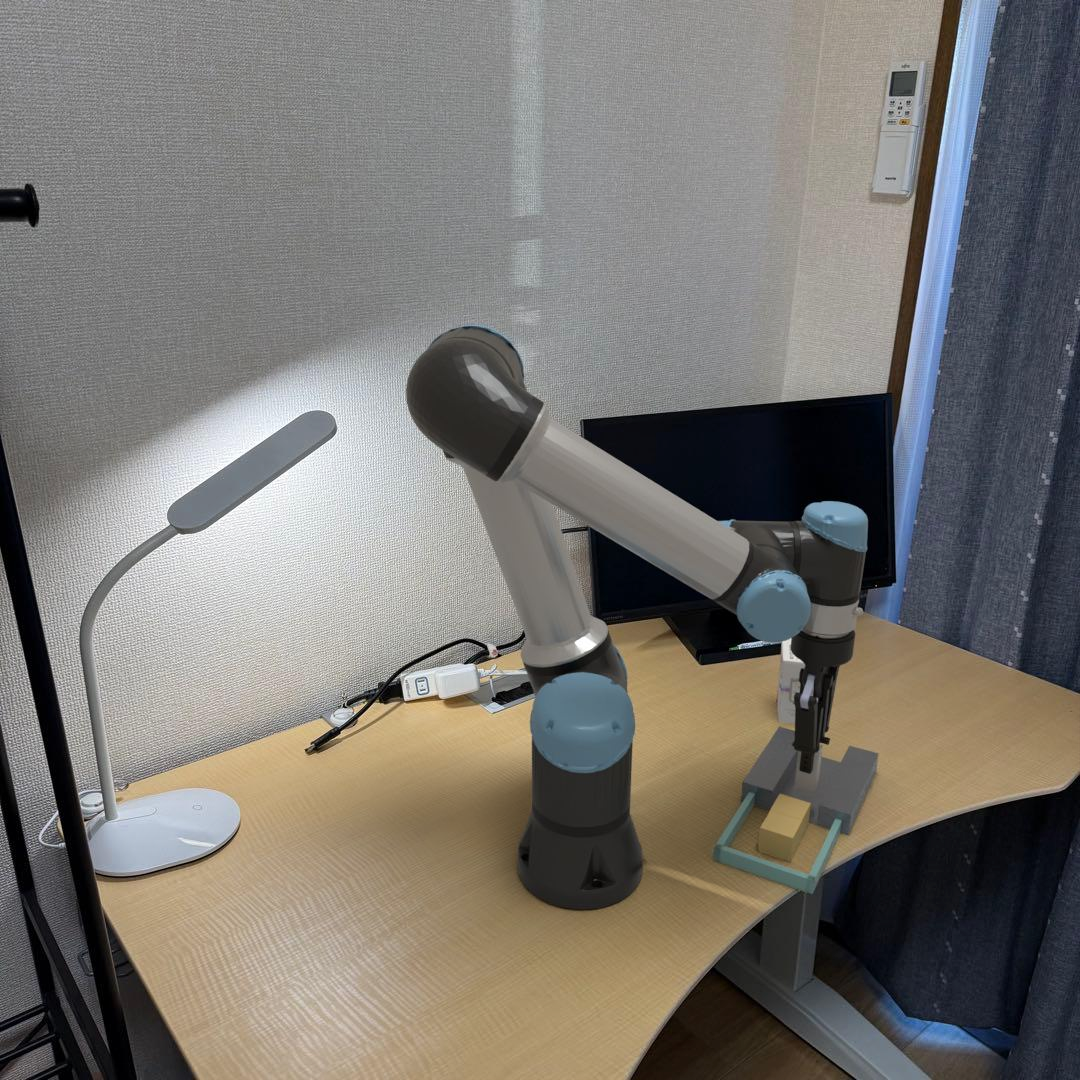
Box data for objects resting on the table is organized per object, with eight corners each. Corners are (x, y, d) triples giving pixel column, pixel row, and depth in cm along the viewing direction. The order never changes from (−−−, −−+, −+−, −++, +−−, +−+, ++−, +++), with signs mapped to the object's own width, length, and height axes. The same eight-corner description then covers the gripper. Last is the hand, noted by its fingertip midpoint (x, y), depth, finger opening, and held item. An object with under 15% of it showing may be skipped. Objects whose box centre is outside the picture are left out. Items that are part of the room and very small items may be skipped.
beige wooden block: (798, 846, 119) (801, 819, 118) (767, 836, 121) (770, 809, 120) (807, 829, 122) (810, 803, 121) (777, 819, 124) (779, 793, 123)
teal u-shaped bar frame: (811, 902, 111) (813, 881, 110) (712, 867, 116) (714, 847, 115) (839, 840, 121) (841, 820, 120) (747, 811, 127) (749, 791, 126)
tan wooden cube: (789, 865, 116) (792, 838, 114) (757, 854, 118) (760, 827, 116) (799, 847, 119) (802, 820, 118) (767, 836, 121) (770, 810, 119)
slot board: (847, 842, 121) (851, 814, 119) (740, 808, 127) (742, 781, 126) (875, 779, 134) (878, 753, 132) (776, 751, 140) (779, 726, 139)
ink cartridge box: (774, 701, 154) (782, 618, 149) (806, 704, 153) (815, 620, 148) (776, 728, 146) (784, 641, 141) (809, 732, 145) (819, 645, 140)
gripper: (841, 653, 112) (820, 823, 120) (867, 613, 122) (847, 772, 130) (778, 639, 115) (762, 804, 123) (809, 601, 126) (792, 756, 134)
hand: (806, 787), depth 127 cm, fingers closed
